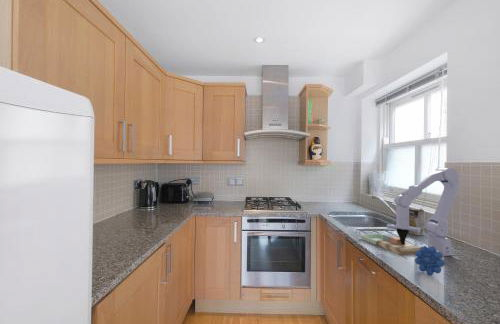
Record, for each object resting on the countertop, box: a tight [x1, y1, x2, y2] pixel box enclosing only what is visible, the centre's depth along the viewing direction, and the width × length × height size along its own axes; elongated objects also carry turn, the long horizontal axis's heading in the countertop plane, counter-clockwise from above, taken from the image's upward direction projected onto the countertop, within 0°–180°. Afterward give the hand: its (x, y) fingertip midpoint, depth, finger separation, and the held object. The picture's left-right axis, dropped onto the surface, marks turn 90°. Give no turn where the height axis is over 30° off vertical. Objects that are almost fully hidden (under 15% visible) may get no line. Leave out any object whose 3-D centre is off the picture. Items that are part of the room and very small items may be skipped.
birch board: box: [377, 240, 422, 256], centre depth 133 cm, size 16×12×3 cm
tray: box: [359, 233, 384, 246], centre depth 148 cm, size 13×14×2 cm
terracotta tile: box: [390, 236, 401, 244], centre depth 135 cm, size 5×5×2 cm
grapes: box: [414, 245, 446, 276], centre depth 102 cm, size 12×7×12 cm, turn 20°
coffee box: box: [408, 207, 425, 236], centre depth 166 cm, size 9×6×16 cm
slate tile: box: [382, 234, 398, 242], centre depth 139 cm, size 5×5×2 cm
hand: (402, 243), depth 130 cm, fingers closed
